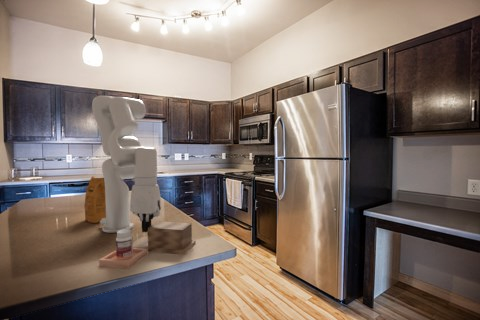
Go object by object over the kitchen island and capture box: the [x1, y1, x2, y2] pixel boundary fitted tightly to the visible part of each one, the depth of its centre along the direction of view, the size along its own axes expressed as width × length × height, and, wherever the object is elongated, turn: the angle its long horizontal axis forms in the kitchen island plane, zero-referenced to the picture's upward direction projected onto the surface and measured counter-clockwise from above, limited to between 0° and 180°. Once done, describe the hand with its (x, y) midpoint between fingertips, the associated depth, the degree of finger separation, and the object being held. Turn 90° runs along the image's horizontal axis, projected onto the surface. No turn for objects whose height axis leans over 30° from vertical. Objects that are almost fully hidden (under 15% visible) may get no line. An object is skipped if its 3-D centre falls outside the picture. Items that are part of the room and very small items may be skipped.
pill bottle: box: [115, 229, 134, 260], centre depth 76 cm, size 5×5×8 cm
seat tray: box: [98, 248, 149, 269], centre depth 76 cm, size 10×10×2 cm
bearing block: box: [133, 221, 197, 255], centre depth 87 cm, size 22×10×8 cm, turn 78°
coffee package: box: [84, 175, 106, 224], centre depth 121 cm, size 10×12×22 cm
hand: (146, 230), depth 88 cm, fingers closed
